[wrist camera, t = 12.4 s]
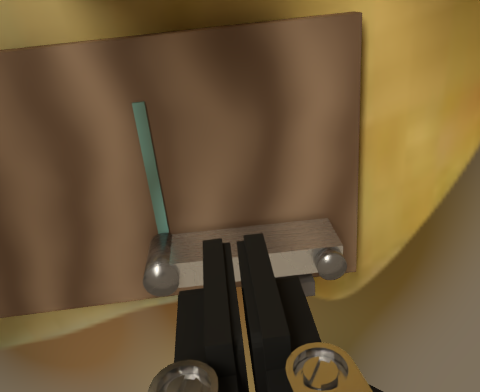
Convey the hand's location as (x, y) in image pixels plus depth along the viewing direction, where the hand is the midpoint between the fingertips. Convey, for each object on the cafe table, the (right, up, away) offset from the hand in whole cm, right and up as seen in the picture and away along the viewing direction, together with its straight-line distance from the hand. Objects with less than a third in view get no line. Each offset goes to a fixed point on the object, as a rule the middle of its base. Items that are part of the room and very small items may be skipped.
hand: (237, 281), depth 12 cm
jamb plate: (-6, +4, +21) cm, 22 cm away
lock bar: (0, -1, +22) cm, 22 cm away
